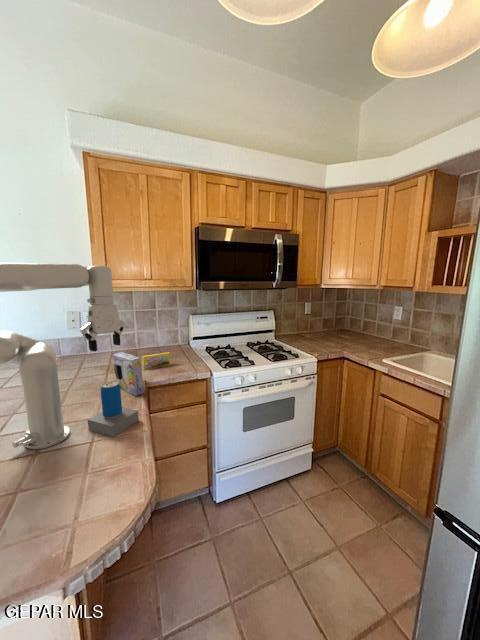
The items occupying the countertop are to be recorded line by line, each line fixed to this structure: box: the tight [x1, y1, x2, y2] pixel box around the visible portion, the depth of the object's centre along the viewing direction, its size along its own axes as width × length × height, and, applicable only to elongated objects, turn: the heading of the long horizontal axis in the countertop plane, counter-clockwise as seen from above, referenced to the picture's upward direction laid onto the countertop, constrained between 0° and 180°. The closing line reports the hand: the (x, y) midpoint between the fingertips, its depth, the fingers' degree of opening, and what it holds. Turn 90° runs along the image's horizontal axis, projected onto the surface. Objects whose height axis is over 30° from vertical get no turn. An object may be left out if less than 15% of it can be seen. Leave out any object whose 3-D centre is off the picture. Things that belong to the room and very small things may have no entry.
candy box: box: [142, 351, 171, 371], centre depth 165 cm, size 16×2×8 cm, turn 123°
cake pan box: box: [112, 351, 145, 397], centre depth 131 cm, size 19×5×18 cm, turn 50°
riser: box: [87, 406, 139, 438], centre depth 100 cm, size 12×12×4 cm
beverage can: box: [99, 380, 123, 419], centre depth 99 cm, size 6×6×12 cm
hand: (105, 347), depth 99 cm, fingers open, 9 cm apart
